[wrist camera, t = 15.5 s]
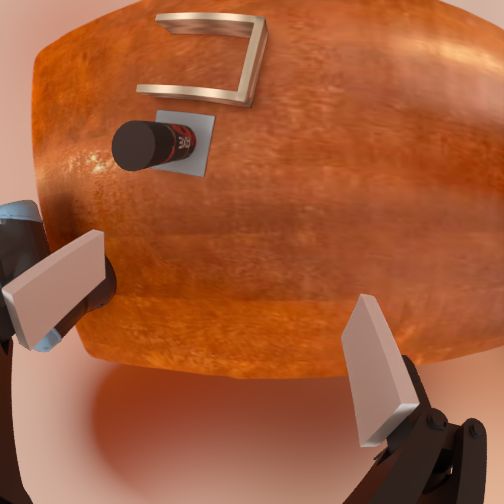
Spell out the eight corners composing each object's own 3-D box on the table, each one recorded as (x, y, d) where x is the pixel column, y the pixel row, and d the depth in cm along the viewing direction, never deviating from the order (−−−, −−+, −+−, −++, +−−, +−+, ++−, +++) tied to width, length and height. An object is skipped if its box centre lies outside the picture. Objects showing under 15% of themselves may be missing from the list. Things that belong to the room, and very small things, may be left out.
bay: (156, 97, 39) (136, 92, 33) (173, 28, 34) (156, 14, 27) (251, 108, 39) (244, 101, 32) (268, 34, 33) (265, 17, 27)
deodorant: (158, 132, 41) (106, 133, 27) (190, 119, 40) (147, 112, 26) (168, 165, 43) (120, 178, 29) (201, 153, 42) (161, 160, 28)
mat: (150, 167, 44) (148, 167, 43) (158, 110, 40) (157, 110, 39) (204, 176, 44) (203, 177, 43) (215, 116, 40) (214, 116, 39)
